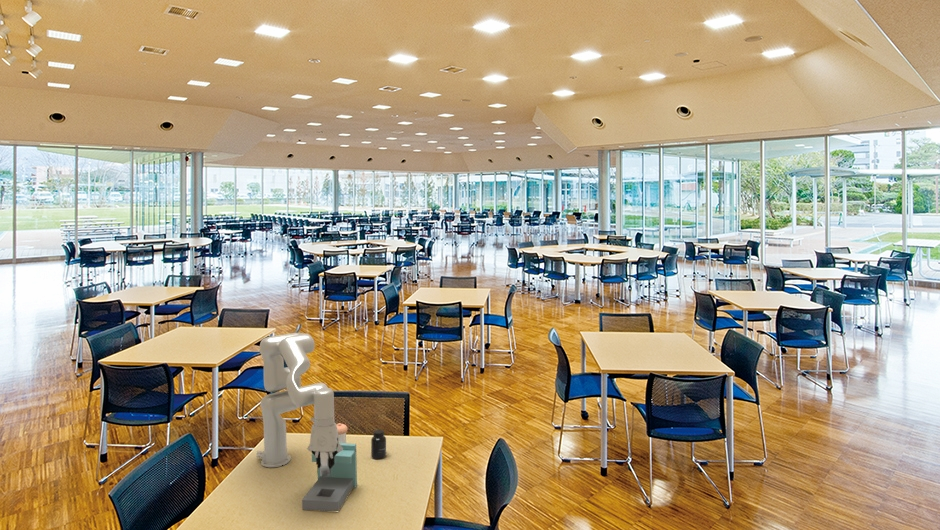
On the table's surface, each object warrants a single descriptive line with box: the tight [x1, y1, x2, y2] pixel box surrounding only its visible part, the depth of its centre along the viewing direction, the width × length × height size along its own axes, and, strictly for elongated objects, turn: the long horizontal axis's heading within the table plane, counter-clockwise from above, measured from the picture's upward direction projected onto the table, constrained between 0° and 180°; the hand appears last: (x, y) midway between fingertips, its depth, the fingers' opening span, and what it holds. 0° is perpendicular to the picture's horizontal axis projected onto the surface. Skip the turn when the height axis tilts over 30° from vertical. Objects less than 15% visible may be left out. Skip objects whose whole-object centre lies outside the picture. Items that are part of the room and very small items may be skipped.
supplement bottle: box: [370, 429, 387, 460], centre depth 248 cm, size 7×7×12 cm
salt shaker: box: [336, 422, 348, 443], centre depth 239 cm, size 7×7×19 cm
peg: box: [320, 452, 331, 477], centre depth 207 cm, size 4×4×12 cm
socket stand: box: [301, 442, 358, 512], centre depth 212 cm, size 16×20×18 cm
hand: (325, 466), depth 207 cm, fingers closed on peg, 4 cm apart
